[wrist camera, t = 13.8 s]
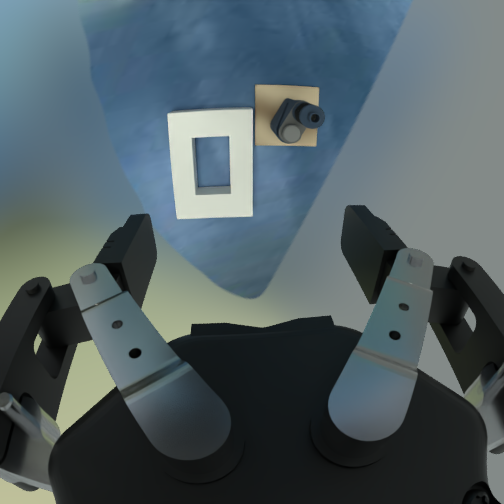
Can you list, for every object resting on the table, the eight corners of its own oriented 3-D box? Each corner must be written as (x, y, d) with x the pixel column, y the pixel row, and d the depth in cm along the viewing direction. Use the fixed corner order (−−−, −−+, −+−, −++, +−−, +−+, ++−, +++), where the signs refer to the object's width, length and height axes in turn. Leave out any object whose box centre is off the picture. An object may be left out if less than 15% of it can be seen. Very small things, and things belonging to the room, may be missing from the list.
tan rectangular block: (255, 84, 34) (255, 84, 33) (317, 87, 34) (319, 87, 34) (255, 144, 38) (255, 145, 37) (315, 145, 38) (316, 146, 38)
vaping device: (304, 104, 35) (334, 114, 25) (282, 137, 37) (303, 161, 27) (287, 93, 34) (310, 99, 24) (265, 127, 36) (279, 147, 26)
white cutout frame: (172, 111, 35) (167, 113, 32) (251, 107, 35) (252, 109, 33) (180, 209, 42) (177, 219, 40) (251, 207, 43) (252, 216, 40)
